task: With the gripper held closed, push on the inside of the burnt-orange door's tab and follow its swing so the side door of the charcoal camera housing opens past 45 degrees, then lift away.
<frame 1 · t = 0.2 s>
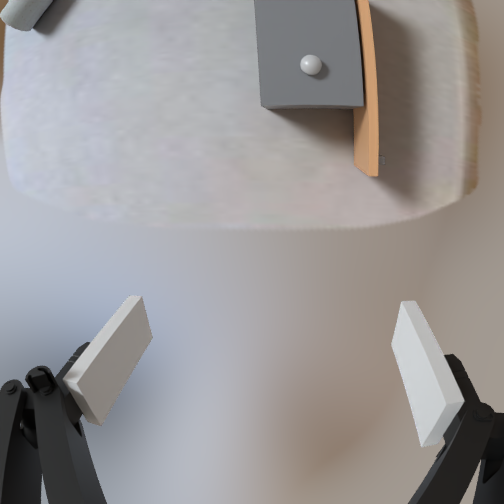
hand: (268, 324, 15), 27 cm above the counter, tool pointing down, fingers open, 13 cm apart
door: (366, 67, 28), point 4 cm above the counter, hinge at 0.0°
camera housing: (305, 47, 31), on the counter
ceramic mug: (39, 5, 30), on the counter
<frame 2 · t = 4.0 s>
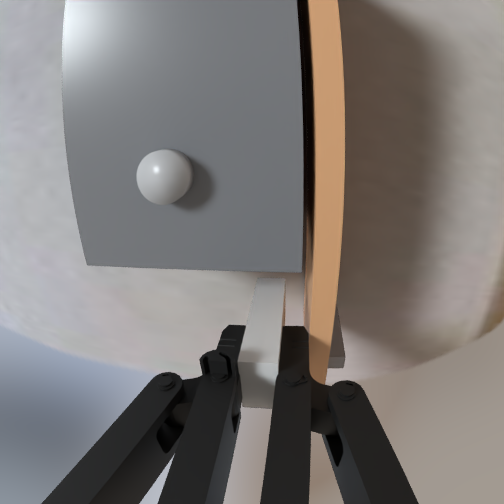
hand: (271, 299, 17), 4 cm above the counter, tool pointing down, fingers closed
door: (330, 142, 14), point 4 cm above the counter, hinge at 0.2°, touching gripper
camera housing: (214, 89, 17), on the counter
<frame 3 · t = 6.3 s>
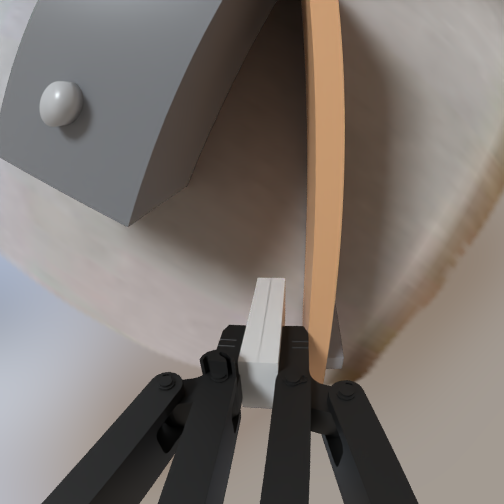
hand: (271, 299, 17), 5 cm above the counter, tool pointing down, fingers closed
door: (330, 144, 14), point 4 cm above the counter, hinge at 27.2°, touching gripper
camera housing: (167, 48, 16), on the counter
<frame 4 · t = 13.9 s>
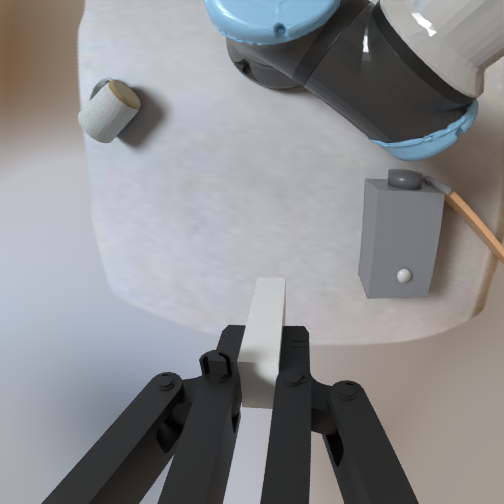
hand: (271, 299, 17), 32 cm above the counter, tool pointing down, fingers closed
door: (481, 226, 40), point 4 cm above the counter, hinge at 54.8°
camera housing: (391, 228, 47), on the counter
ceramic mug: (117, 106, 45), on the counter
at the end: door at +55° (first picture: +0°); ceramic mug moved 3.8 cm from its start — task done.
